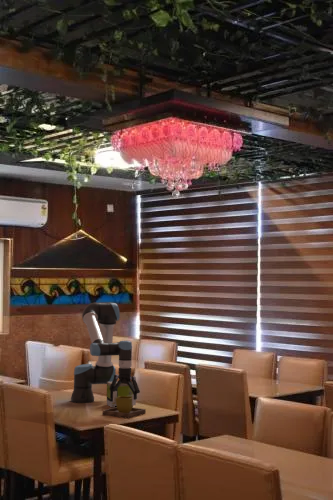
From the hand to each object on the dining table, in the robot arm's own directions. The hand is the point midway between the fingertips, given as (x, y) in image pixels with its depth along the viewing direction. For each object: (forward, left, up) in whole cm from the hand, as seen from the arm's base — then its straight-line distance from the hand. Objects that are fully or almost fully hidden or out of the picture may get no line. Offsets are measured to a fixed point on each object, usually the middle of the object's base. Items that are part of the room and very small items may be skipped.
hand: (124, 403), depth 391 cm
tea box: (-19, +22, -6) cm, 29 cm away
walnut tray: (0, 0, -6) cm, 6 cm away
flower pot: (+1, 0, -5) cm, 5 cm away
